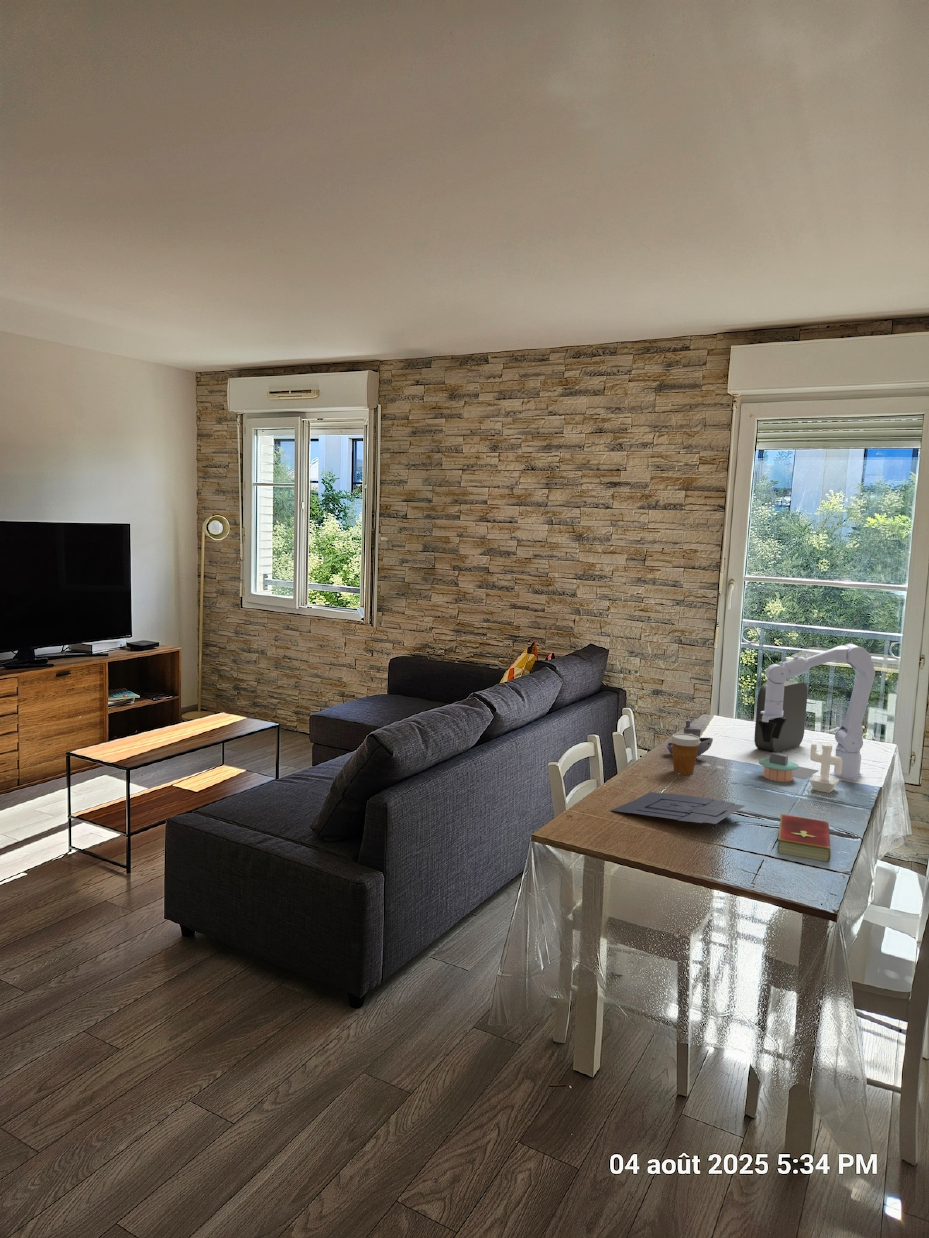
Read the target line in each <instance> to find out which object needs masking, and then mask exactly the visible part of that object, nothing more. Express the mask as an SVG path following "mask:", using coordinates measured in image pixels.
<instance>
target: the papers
mask: <svg viewBox="0 0 929 1238" xmlns="http://www.w3.org/2000/svg"><path fill="white" fill-rule="evenodd" d="M745 807H746V805H744V804H737V803H736V802H730V801H725V800H719V799H714V798H708V797H701V796H700V797H699V796H691V795H683V794H677V793H665V792H664V793H663V792H653V791H649V792H648V793H645V794H644V795H641V796H640V797H638V798H636V799H634V800H631V801H629V802H627V803H625V804H624V803H623V805H620V806H617V807H615V808H613V809H611V812H612V811H613V812H620V813H626V814H627V813H628V814H637V815H643V816H648V817H649V816H650V817H658V818H665V819H671V820H674V821H681V822H691V823H699V824H703V823H706V824H707V823H708V824H713V825H714V824H715V825H716V824H718V823H720V822H721V821H722V820H725V818H728V817H729V816H730V815H732V814H735V813H736V812H737V811H739V810H741V809H742V808H745Z"/></svg>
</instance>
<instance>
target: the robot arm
mask: <svg viewBox="0 0 929 1238" xmlns="http://www.w3.org/2000/svg"><path fill="white" fill-rule="evenodd" d="M834 661H836V662H841V663H847V664H848V665H850V666H851V668H852V670H854V672H855V674H856V677H855V681H854V684H853V688H852V691H851V696H850V700H849V704H848V706H847V711H846V714H845V718H844V720H843V721H842V722H841V724H840V726H839V728H838V729H837V730H836V732H835V734H834V738H835V742H836V743H837V745H836V746H835V755H834V756H836V757H840V758H842V773H841V774H840V775H837V774H836V766H835V765H833V768H834V770H833V771H832V772H831V773H829V776H834V777H840V778H844V779H849V780H853V781H854V780H857V779H858V778H859V777H861V776H863V775H864V774H863V773H861V763H862V761H861V760H862V756H861V755H862V754H861V749H862V747H863V746H864V741H863V740H864V739H863V734H864V730H863V725H862V724H863V722H864V717H865V714H866V710H867V707H868V702H869V698H870V694H871V692H872V687H873V684H874V681H875V676H876V670H875V667H874V666H875V665H874V663H873V661H872V655H871V654H870V653H869V652H868V651H867V649H866V648H864V647H861V646H858V645H857V644H854V643H846V644H844V645H843V644H841V645H837V646H835V647H832V648H830V649H828V650H825V651H822V652H819V653H817V654H815V655H814V654H813V655H811V656H809V657H806V658H805V657H803V656H798V655H795V656H793V657H792V658H791V659H789V660H784V661H782V660H781V661H779V662H778V663H779V664H777V663H772V664H771V665H769V666H768V667H767V668H766V671H765V672H764V674H765V676H766V678H767V679H766V683H767V686H766V695H765V708H764V711H761V714H763V716H762V720H761V719H760V720H758V723H759V725H760V727H761V730H762V736H763V741H764V742H770V741H771V738H777V739H778V738H779V735H780V732H781V729H782V727H783V725H784V723H785V722H786V720H787V718H784V717H783V713H784V711H783V698H784V682H785V681H786V680H788V679H792V678H795V677H798V676H801V675H805V674H807V673H808V672H809V670H810V669H811V668H813V667H814V668H815V667H817V666H821V665H823V664H827V663H830V662H834Z"/></svg>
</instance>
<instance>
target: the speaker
mask: <svg viewBox="0 0 929 1238" xmlns="http://www.w3.org/2000/svg"><path fill="white" fill-rule="evenodd" d="M766 686H767V682H765V683H763V684H762V685H761V687H760V688H759V690H758V694H757V700H756V701H757V702H756V712H755V713H756V715H755V723H754V724H755V725H754V736H753V737H754V740H753V741H754V745H755V747H756V749H758V750H759V749H761V750H765V751H769V752H775V753H780V754H782V753H785V752H787V751H791V750H793V749H796V748H799V746H801V744H802V742H803V738H804V736H805V727H806V719H807V717H806V715H807V704H808V702H807V701H808V686H807V684H806V683H805V682H802V681H799V682H798V681H797V682H796V681H791V680H788V679H787V680H786V681H785V682H784V698H783V711H784V713H783V717H784V718H787V720H786V722H785V723H784V725H783V727H782V729H781V732H780V735H779V738H778V739H777V738H771V741H770V742H764V741H763V736H762V730H761V727H760V725H759V723H758V720H760V719H761V720H762V716H763V714H761V711H764V708H765V695H766Z"/></svg>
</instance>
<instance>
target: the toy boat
mask: <svg viewBox="0 0 929 1238" xmlns="http://www.w3.org/2000/svg"><path fill="white" fill-rule="evenodd" d="M691 722H692V720H691V719H685V725H684V726H683V734H691V735H695V736H698V737H699V739H700V742H701V743H700V745H699V747H698V752H697V757H699V756H701V755H703V754H704V753H706V752H708V750H709V749H710V748H711V746H712V744H713V739H714V738H712V737H700V736H701V731H702V727H703V726H702V725H691ZM666 748H667V750H668V752H669V754H672V755H673V751H672V742H671V741H669V742H667V745H666Z"/></svg>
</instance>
